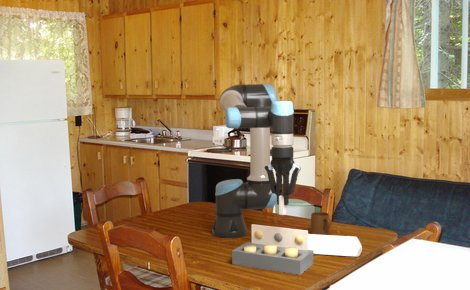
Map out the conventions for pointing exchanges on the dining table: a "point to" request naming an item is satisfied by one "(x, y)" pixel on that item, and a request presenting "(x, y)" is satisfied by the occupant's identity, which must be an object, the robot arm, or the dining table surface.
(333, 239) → the crystal
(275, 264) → the console
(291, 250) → the button right
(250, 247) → the button left
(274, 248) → the button middle
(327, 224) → the mug
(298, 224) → the dining table surface
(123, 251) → the dining table surface
